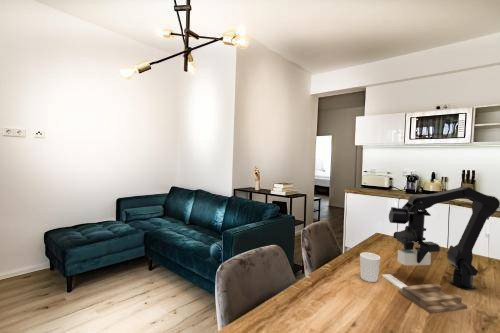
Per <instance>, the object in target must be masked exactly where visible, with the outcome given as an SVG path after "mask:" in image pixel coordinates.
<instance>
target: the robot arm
mask: <svg viewBox="0 0 500 333" xmlns="http://www.w3.org/2000/svg"><path fill="white" fill-rule="evenodd" d="M463 198H466V199H467V200H468V201H471V202H472V203H471V211H472V213H471V215H470V218H469V220H468V222H467V224H466V226H465V229H464V231H463V232H462V235H461V236H460V239H459V241H458V242H457V244H456V245H450V246H449V248H448V251H447V252H446V255H447V256H446V257H447V260H448V262H449V263H450V264H451V267H453V268H454V269H453V274H452V276H453V277H452V280H449V283H450V284H453V285H454V286H456V287H459V288H460V289H463V290H472V289H477V286H475V285H473V279H474V277H476V276H477V275H478V273H479V271H478V269H477V268H476V267H475V266H474V265H473V264H472V263H473V260H474V258H473V257H474V256H473V255H474V254H473V250H474V247H475V244H476V242H477V241H478V238H479V237H480V234H481V232H482V230H483V227H484V225H485V224H486V222H487V220H488V219H489V218H490V217H491V216H493V215H494V214H495V213H496V211H497V210H498V209H499V207H500V200H499V199H498V198H497V197H496V196H494V195H493V196H492V195H488V194H485V193H482V192H479V191H477V190H475V189H473V188H472V187H469V186H464V185H463V186H458V187H456V188H452V189H448V190H447V189H446V190H443V191H439V192H434V193H429V194H425V193H423V194H412V195H410V196H409V197H408V200H407V202H406V203H404V205H403V206H402V207H395V206H393V207H391V208H390V210H389V213H388V220H389V223H390V224H402V225H405V227H404V230H400V231H395V232H393V236H392V238H393V239H395V240H396V241H397V242H399V243H401V244H402V245H403V247H404V250H417V263H420V262H421V261H422V259H423V258H424V257H425V255H426V254H427V253H428V252H429V253H435V252H436V253H437V252H440V251H441V250H440V249H441V247H440V245H439V244H438V243H436V242H433V241H426V237H424V232H426V231H427V228H425V219H426V218H425V217H430V216H431V213H429V212H428V210H427V209H430V208H432V207H433V206H434V205H437V204H440V203H445V202H449V201H454V200H458V199H459V200H460V199H463ZM407 223H408V225H406V224H407ZM415 244H416V245H418V247H414V246H415Z"/></svg>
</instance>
